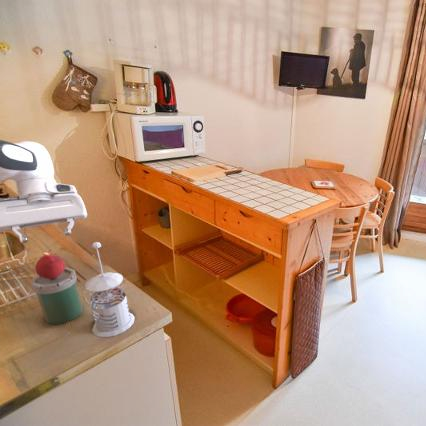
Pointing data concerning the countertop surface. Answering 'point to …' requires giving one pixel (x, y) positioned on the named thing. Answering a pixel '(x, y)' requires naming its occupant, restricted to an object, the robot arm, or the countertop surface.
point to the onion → (50, 266)
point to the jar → (58, 297)
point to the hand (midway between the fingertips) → (47, 238)
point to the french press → (108, 303)
